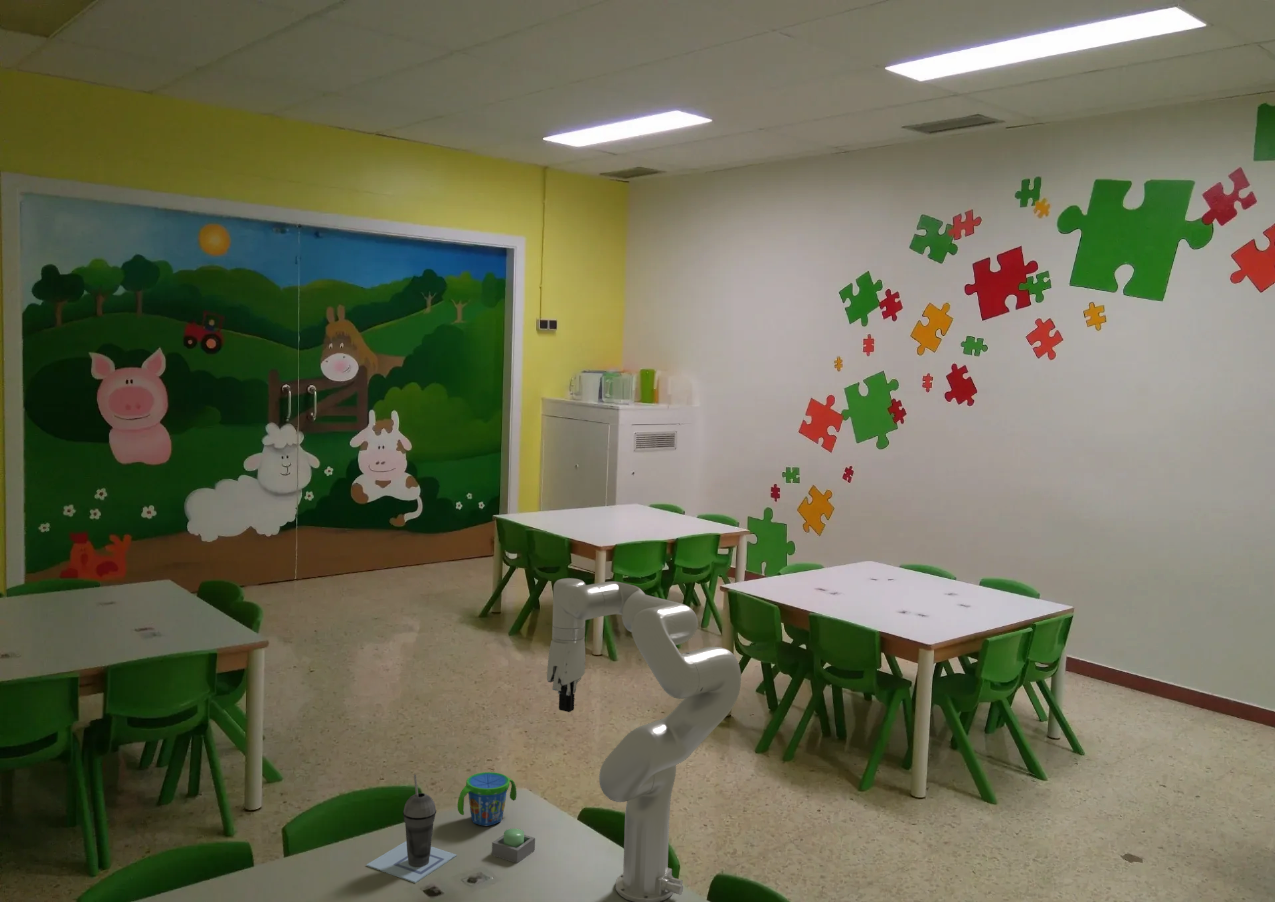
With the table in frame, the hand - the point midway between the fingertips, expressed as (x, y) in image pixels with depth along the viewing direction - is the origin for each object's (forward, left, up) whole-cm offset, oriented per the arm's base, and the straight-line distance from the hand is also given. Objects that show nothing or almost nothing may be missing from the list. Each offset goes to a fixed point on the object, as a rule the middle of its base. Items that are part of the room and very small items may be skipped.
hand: (566, 710), depth 228 cm
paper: (+24, +25, -32) cm, 47 cm away
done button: (+7, +10, -31) cm, 34 cm away
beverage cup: (+22, +25, -32) cm, 46 cm away
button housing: (+7, +10, -32) cm, 34 cm away
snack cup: (+22, 0, -32) cm, 39 cm away
